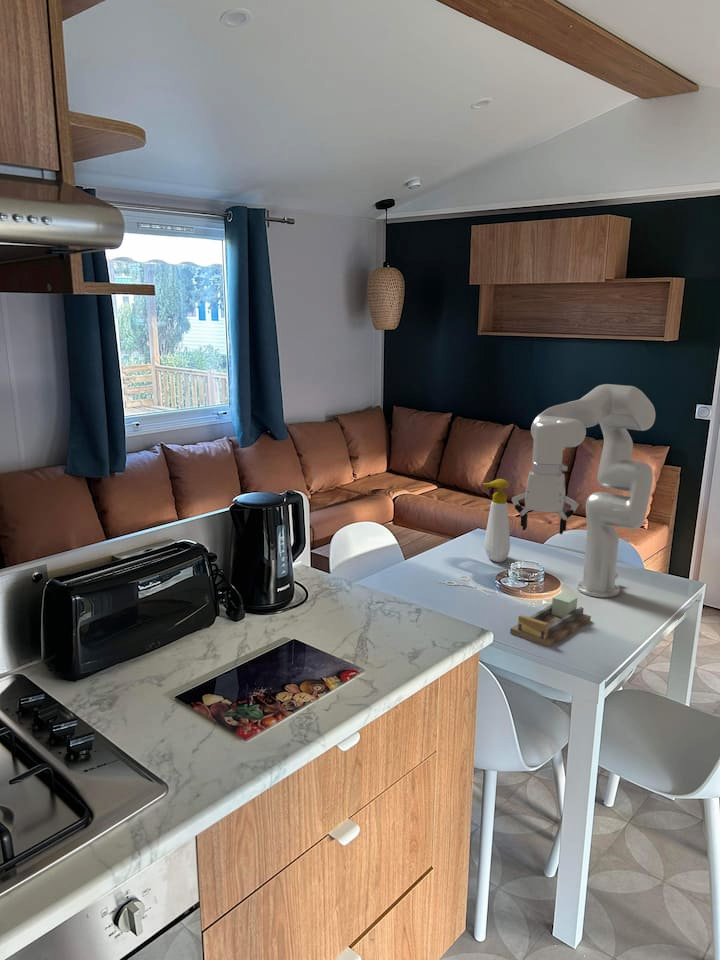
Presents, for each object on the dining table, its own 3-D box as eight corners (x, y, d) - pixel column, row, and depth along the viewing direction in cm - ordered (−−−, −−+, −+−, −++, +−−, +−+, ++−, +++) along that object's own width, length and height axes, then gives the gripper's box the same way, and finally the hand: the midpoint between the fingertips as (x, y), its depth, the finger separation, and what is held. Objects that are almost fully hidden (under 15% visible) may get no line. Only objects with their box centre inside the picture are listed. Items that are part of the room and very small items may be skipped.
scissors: (459, 574, 245) (509, 590, 231) (459, 576, 246) (509, 592, 231) (438, 581, 238) (488, 599, 224) (438, 584, 239) (487, 601, 224)
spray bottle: (474, 553, 266) (477, 475, 260) (502, 552, 268) (506, 474, 261) (484, 566, 254) (488, 483, 247) (513, 565, 255) (518, 483, 248)
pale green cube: (560, 609, 214) (561, 592, 213) (576, 614, 211) (577, 597, 209) (551, 614, 210) (552, 597, 209) (567, 619, 207) (568, 602, 206)
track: (552, 609, 218) (553, 591, 217) (590, 621, 210) (591, 602, 209) (510, 633, 202) (511, 614, 200) (549, 647, 194) (551, 627, 192)
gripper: (582, 468, 194) (577, 530, 198) (515, 463, 200) (512, 523, 204) (579, 474, 187) (575, 538, 192) (511, 469, 193) (508, 531, 198)
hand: (542, 530), depth 198 cm, fingers open, 9 cm apart
